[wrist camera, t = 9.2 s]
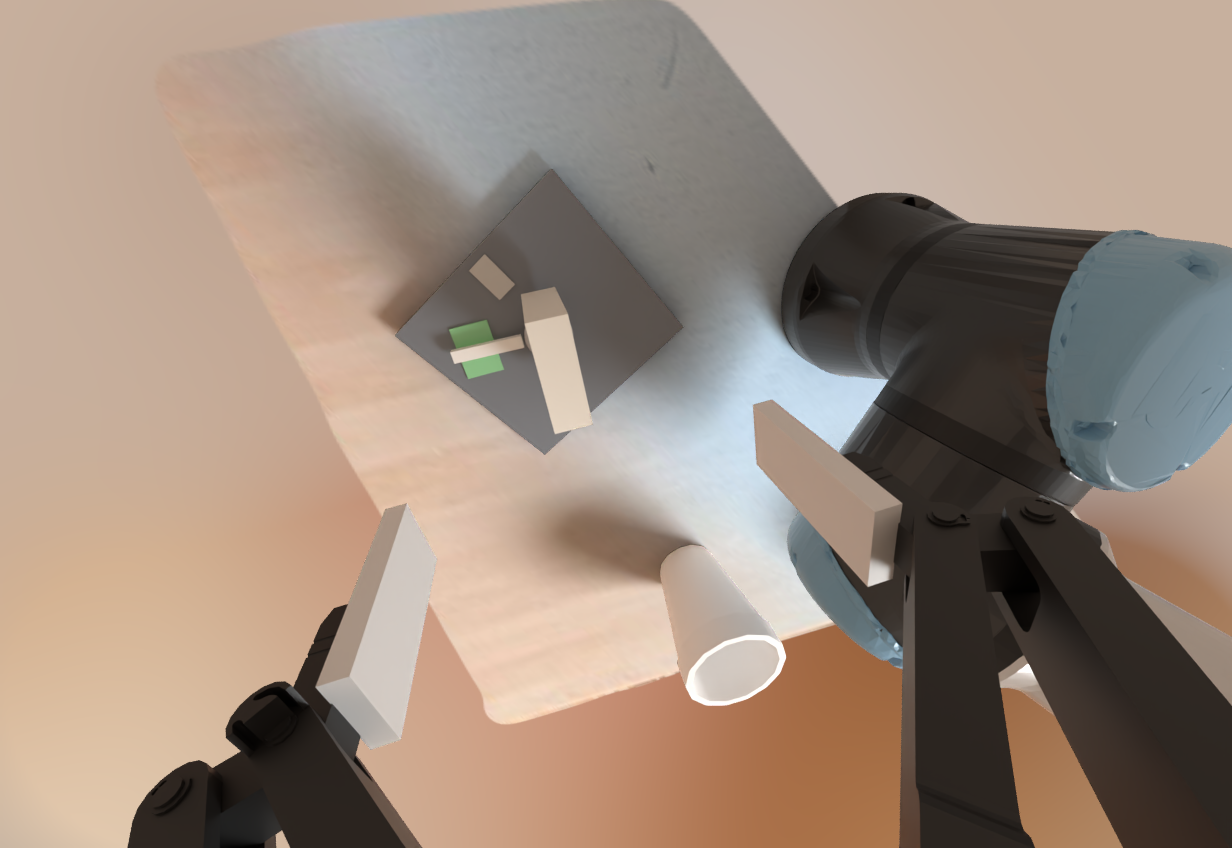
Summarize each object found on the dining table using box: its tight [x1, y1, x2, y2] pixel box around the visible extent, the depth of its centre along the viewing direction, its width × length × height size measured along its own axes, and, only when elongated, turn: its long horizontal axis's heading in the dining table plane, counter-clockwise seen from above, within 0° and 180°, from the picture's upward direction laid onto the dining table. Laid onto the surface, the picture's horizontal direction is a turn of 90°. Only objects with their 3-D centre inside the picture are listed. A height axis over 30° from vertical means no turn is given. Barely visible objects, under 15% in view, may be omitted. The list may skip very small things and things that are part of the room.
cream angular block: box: [450, 287, 593, 434], centre depth 31 cm, size 7×9×10 cm
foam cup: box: [660, 545, 786, 705], centre depth 46 cm, size 10×9×13 cm
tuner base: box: [395, 169, 683, 455], centre depth 36 cm, size 16×15×2 cm
